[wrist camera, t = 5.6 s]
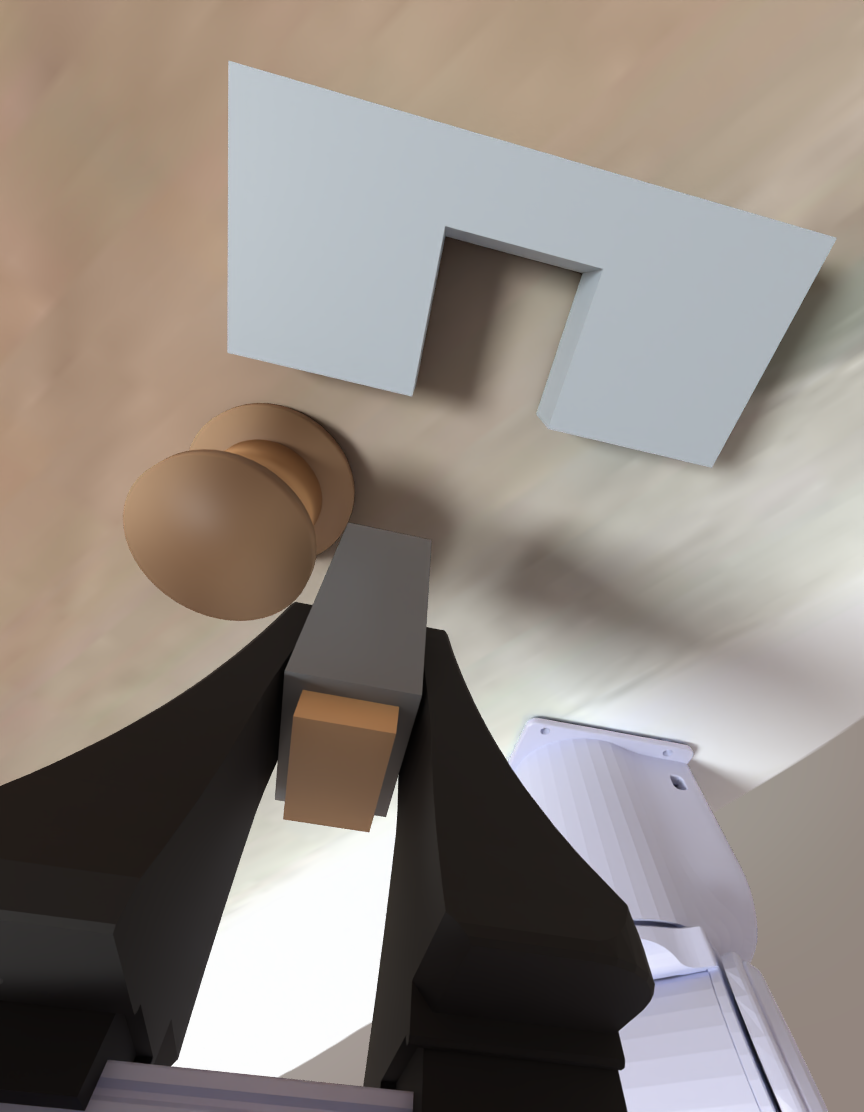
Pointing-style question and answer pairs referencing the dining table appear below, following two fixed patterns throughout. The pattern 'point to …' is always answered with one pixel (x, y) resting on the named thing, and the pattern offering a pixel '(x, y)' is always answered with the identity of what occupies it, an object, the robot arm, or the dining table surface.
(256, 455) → the tan wooden yo-yo
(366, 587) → the grey rectangular block
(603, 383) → the board
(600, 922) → the robot arm
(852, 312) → the dining table surface
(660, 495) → the dining table surface
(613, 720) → the dining table surface
